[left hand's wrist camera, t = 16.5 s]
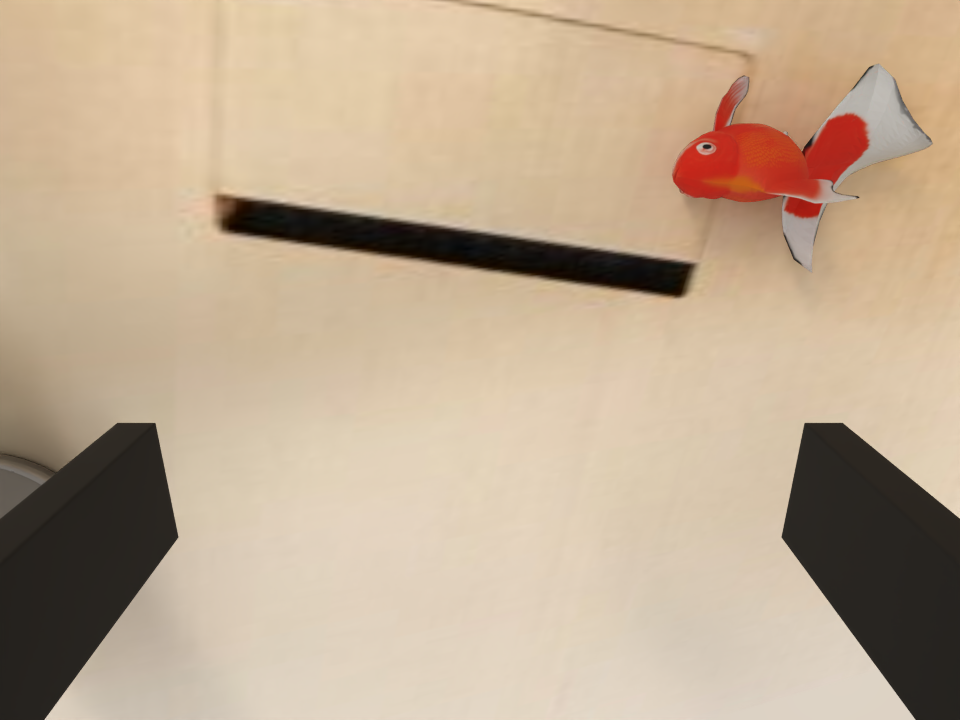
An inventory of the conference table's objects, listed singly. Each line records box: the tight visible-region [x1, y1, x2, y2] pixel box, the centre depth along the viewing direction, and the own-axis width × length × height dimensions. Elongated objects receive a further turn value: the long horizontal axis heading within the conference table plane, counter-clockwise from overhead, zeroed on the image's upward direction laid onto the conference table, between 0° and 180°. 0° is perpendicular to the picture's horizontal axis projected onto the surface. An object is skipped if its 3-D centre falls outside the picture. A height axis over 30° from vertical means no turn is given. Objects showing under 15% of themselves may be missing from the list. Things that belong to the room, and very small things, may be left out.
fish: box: [672, 64, 933, 272], centre depth 36 cm, size 11×16×10 cm
